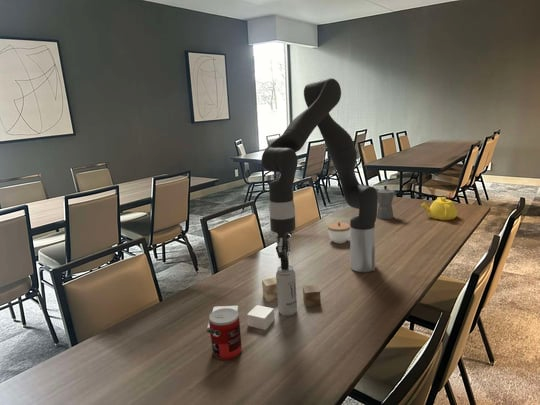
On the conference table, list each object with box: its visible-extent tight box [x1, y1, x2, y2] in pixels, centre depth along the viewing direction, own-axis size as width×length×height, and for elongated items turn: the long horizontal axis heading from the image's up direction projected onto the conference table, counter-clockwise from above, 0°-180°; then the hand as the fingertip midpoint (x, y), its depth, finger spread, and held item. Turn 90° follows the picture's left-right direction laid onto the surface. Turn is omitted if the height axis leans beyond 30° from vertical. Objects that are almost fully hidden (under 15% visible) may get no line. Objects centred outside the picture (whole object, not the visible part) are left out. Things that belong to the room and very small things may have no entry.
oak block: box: [261, 276, 278, 303], centre depth 131 cm, size 5×5×6 cm
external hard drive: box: [206, 305, 239, 332], centre depth 120 cm, size 2×8×12 cm
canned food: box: [208, 308, 243, 361], centre depth 102 cm, size 8×8×11 cm
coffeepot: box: [375, 185, 398, 220], centre depth 213 cm, size 15×9×18 cm, turn 44°
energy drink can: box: [275, 265, 298, 317], centre depth 120 cm, size 6×6×15 cm
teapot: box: [421, 196, 458, 221], centre depth 206 cm, size 20×18×11 cm
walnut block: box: [302, 284, 322, 308], centre depth 126 cm, size 5×5×5 cm
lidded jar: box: [327, 222, 350, 244], centre depth 180 cm, size 11×11×9 cm
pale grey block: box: [246, 304, 276, 331], centre depth 116 cm, size 6×6×4 cm
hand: (285, 268), depth 118 cm, fingers closed
